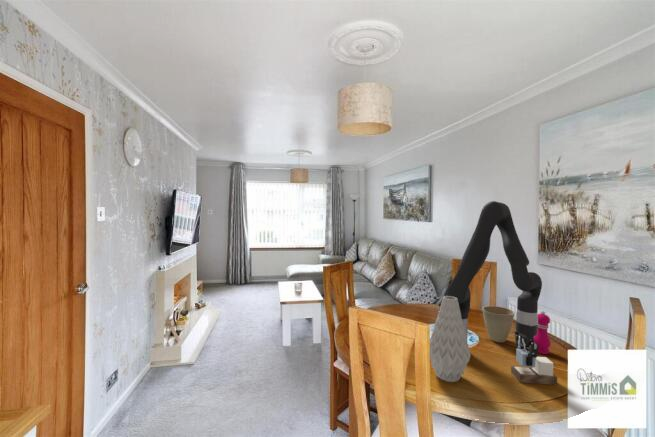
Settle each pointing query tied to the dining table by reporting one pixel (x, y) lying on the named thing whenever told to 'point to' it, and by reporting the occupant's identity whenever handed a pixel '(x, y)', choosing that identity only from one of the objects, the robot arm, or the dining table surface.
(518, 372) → the plank
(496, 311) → the plant pot
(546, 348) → the pepper mill
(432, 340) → the vase
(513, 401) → the dining table surface
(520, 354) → the cube blue
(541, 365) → the cube cream
